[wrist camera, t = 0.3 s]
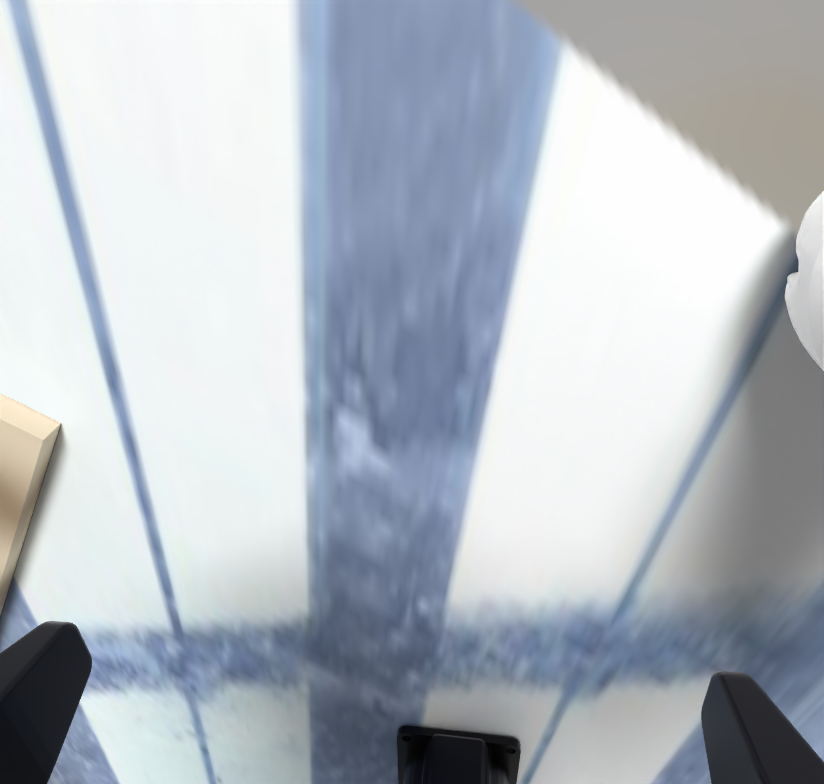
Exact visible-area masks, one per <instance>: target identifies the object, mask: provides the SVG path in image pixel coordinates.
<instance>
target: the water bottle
mask: <svg viewBox="0 0 824 784" xmlns="http://www.w3.org/2000/svg"><path fill="white" fill-rule="evenodd" d="M796 253H797V257H798V261H799V269H798V272H795V273H792V274H790V275H789V276H788V277H787V284H786V291H785V301H786V305H787V309H788V313H789V317H790V319H791V322H792V325H793V328H794V330H795V331H796V333H797V335H798V337H799V339H800V341H801V343H802V345H803V346H804V347H805V349H806V350H807V352H808V353H809V355H810V356H811V357H812V358H813V359H814V361H815V362H816V363H817V364H818V365H819V366H820V368H821V369H822V370H823V371H824V190H823V192H822V193H821V194H820V195H819V196H818V197H817V199H816V200H815V201H814V202H813V203H812V204H811V206H810V207H809V208H808V210H807V212H806V213H805V216H804V218H803V220H802V223H801V226H800V229H799V232H798V235H797V239H796Z"/></svg>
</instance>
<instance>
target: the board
mask: <svg viewBox="0 0 824 784" xmlns="http://www.w3.org/2000/svg"><path fill="white" fill-rule="evenodd" d="M60 425H61V423H59V422H57V421H55V420H53V419H51V418H49V417H47V416H45V415H43V414H41V413H39V412H37V411H35V410H33V409H31V408H28V407H26V406H24V405H22V404H20V403H18V402H16V401H14V400H12V399H10V398H8V397H6V396H4V395H2V394H0V615H1V612H2V609H3V606H4V602H5V599H6V596H7V593H8V590H9V587H10V583H11V580H12V577H13V574H14V571H15V568H16V564H17V561H18V558H19V555H20V552H21V549H22V545H23V542H24V539H25V536H26V533H27V530H28V526H29V523H30V520H31V517H32V514H33V510H34V507H35V504H36V501H37V498H38V495H39V491H40V488H41V485H42V482H43V479H44V476H45V472H46V469H47V466H48V463H49V460H50V457H51V453H52V450H53V447H54V444H55V441H56V438H57V434H58V431H59V428H60Z"/></svg>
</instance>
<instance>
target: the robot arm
mask: <svg viewBox="0 0 824 784" xmlns="http://www.w3.org/2000/svg"><path fill="white" fill-rule="evenodd" d="M91 668H92V658H91V654H90V652H89V650H88V648H87V646H86V644H85V642H84V640H83V638H82V636H81V634H80V632H79V630H78V628H77V626H76V625H75V624H73V623H70V622H57V621H49V622H45V623H43V624H41V625H39V626H38V627H36V628H35V629H33V630H32V631H31V632H29V633H28V634H27V635H25V636H24V637H22V638H21V639H20V640H18V641H17V642H16V643H14V644H13V645H11V646H10V647H9V648H7V649H6V650H4V651H3V652H2V653H0V784H47V782H48V780H49V778H50V775H51V773H52V771H53V768H54V766H55V764H56V761H57V759H58V756H59V753H60V751H61V748H62V746H63V743H64V740H65V738H66V735H67V733H68V730H69V727H70V725H71V722H72V720H73V717H74V714H75V712H76V709H77V707H78V704H79V701H80V699H81V696H82V694H83V691H84V688H85V686H86V683H87V681H88V678H89V675H90V672H91ZM701 720H702V729H703V735H704V741H705V747H706V753H707V759H708V765H709V771H710V777H711V783H712V784H824V762H823V761H822V759H821V758H820V757H819V756H818V755H817V754H816V752H815V751H814V750H813V749H812V748H811V746H810V745H809V744H808V743H807V742H806V741H805V739H804V738H803V737H802V736H801V735H800V733H799V732H798V731H797V730H796V729H795V728H794V726H793V725H792V724H791V723H790V722H789V720H788V719H787V718H786V717H785V716H784V715H783V713H782V712H781V711H780V710H779V709H778V707H777V706H776V705H775V704H774V703H773V702H772V700H771V699H770V698H769V697H768V696H767V694H766V693H765V692H764V691H763V690H762V689H761V687H760V686H759V685H758V684H757V683H756V681H755V680H754V679H753V678H752V677H750V676H749V675H747V674H745V673H740V672H727V671H717V672H715V673H714V674H713V675H712V677H711V680H710V684H709V687H708V690H707V693H706V696H705V699H704V703H703V706H702V712H701ZM397 745H398V776H399V784H516V782H517V774H518V767H519V760H520V753H521V748H520V742H519V741H518V740H517V739H514V738H508V737H499V736H491V735H482V734H473V733H464V732H455V731H446V730H437V729H429V728H420V727H411V726H403V727H400V728H399V730H398V736H397Z"/></svg>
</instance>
